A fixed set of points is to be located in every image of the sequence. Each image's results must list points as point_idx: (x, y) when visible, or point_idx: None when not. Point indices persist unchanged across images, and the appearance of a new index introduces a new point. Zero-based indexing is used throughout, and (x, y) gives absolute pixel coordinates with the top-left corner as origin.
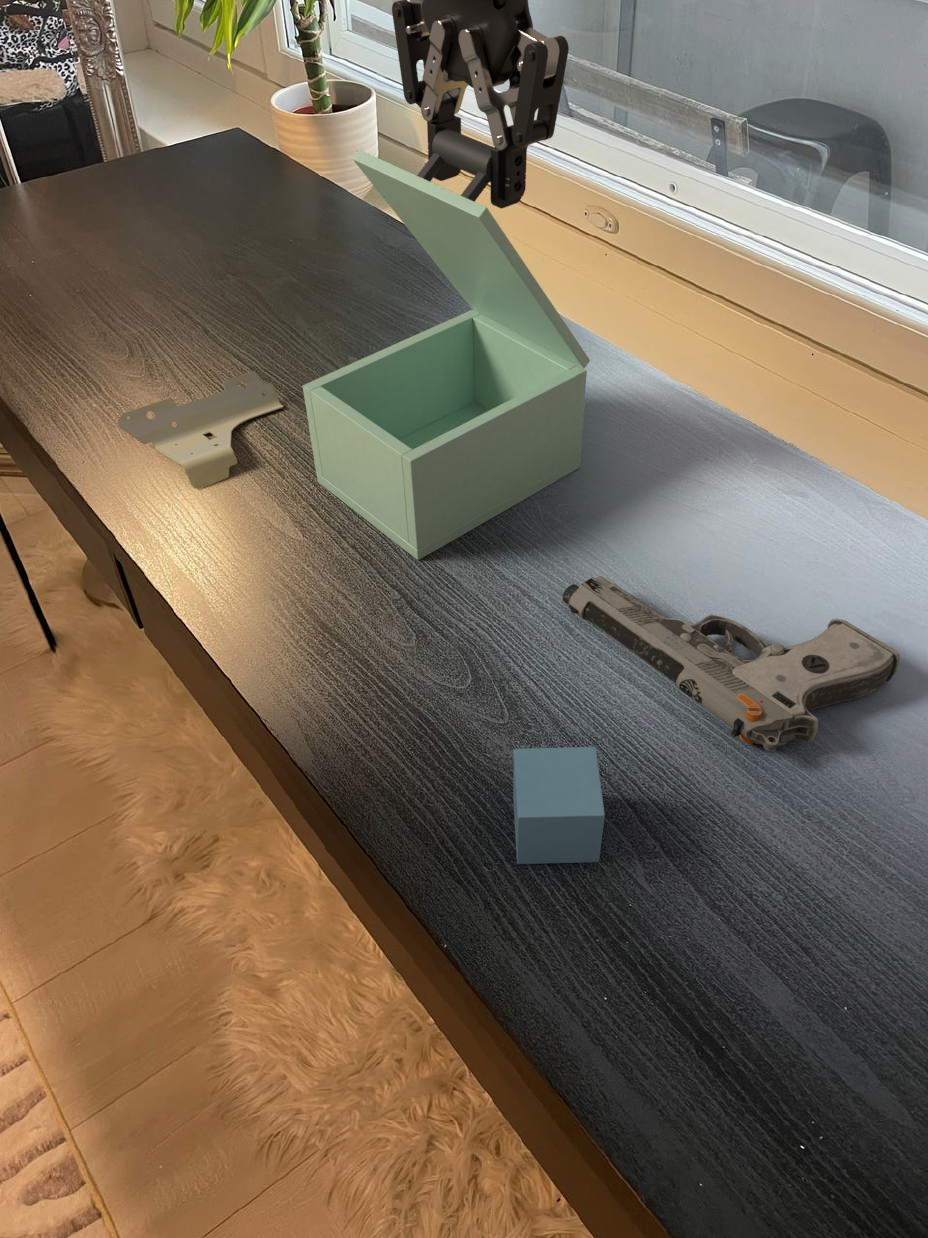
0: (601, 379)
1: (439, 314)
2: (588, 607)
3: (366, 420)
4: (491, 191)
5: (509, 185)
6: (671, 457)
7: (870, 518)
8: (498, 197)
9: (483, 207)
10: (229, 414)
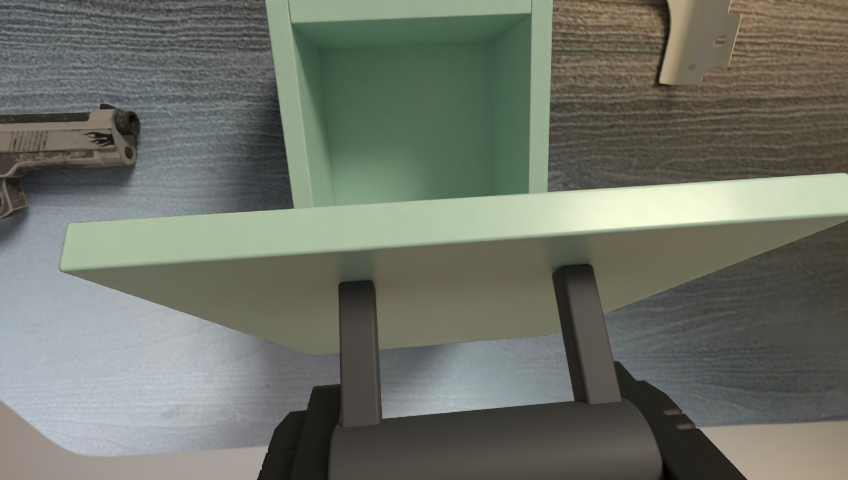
0: (445, 397)
1: (673, 345)
2: (88, 116)
3: (401, 13)
4: (337, 404)
5: (271, 450)
6: (290, 363)
7: (104, 436)
8: (311, 403)
9: (68, 261)
10: (695, 10)
